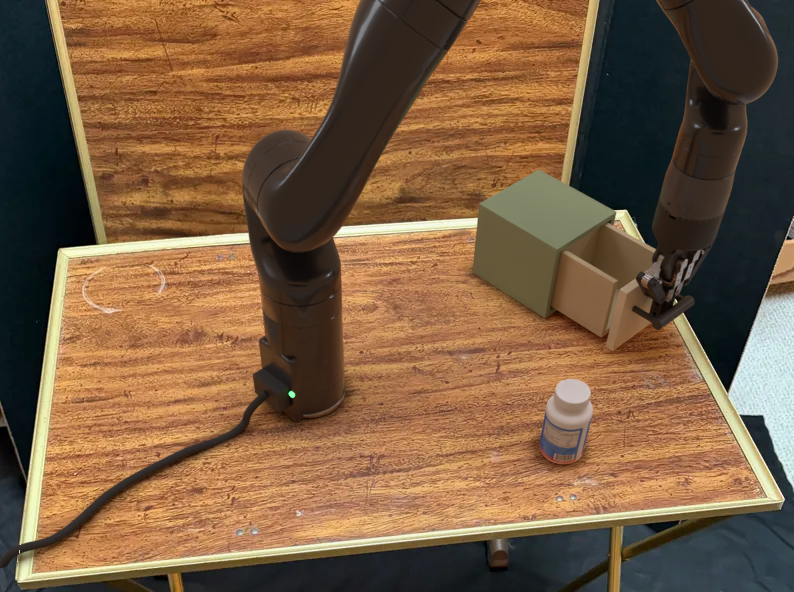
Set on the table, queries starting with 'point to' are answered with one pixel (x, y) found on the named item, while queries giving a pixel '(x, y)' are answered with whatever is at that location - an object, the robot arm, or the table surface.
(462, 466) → the table surface
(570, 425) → the pill bottle
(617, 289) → the drawer
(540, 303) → the cabinet
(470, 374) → the table surface
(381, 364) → the table surface
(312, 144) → the robot arm
